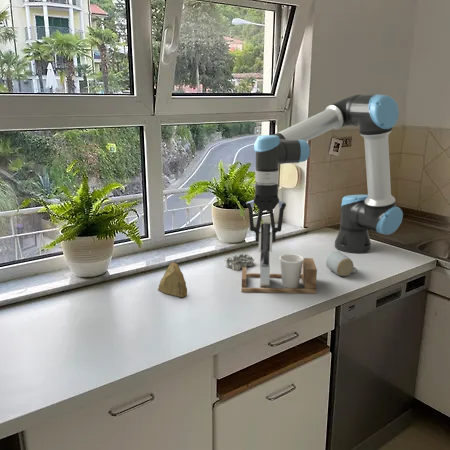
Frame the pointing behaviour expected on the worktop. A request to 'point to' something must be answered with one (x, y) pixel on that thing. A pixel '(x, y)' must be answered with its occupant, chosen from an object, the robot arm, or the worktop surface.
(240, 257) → the egg carton
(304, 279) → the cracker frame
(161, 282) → the rock
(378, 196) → the robot arm
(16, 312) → the worktop surface
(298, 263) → the dixie cup
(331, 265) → the ceramic mug
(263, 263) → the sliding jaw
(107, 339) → the worktop surface
